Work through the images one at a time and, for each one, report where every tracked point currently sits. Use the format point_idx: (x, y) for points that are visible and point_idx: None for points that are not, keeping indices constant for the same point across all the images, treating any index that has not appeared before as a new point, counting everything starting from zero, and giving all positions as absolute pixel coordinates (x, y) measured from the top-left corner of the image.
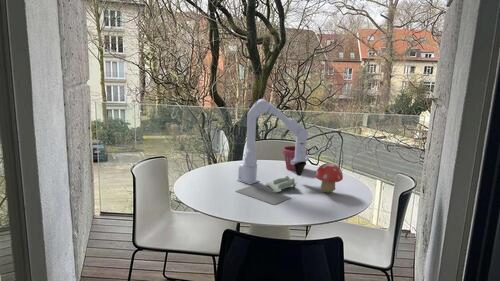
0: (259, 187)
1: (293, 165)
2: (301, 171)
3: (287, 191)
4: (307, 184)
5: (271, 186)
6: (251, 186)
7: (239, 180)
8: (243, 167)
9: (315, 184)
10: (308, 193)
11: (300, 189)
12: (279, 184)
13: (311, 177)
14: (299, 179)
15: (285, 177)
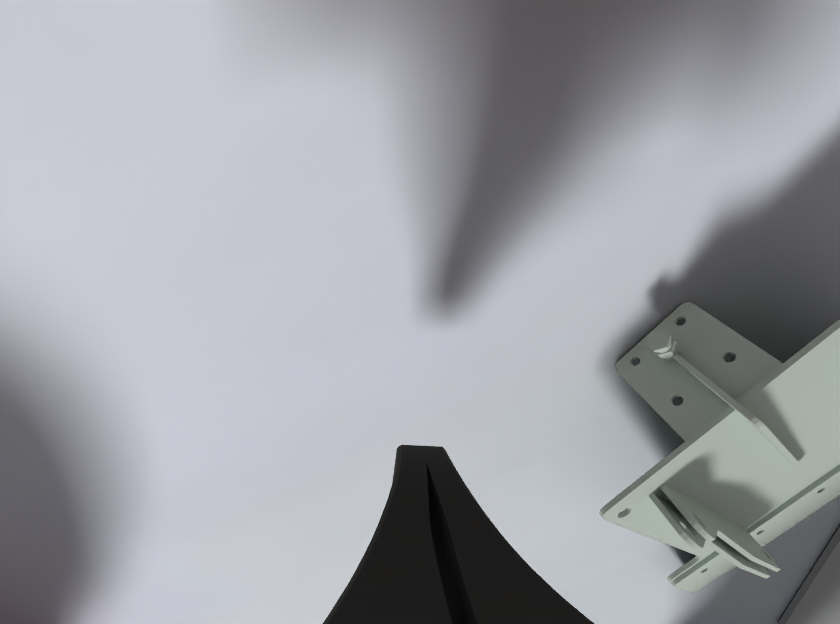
0: (825, 569)
1: None
2: (427, 502)
3: (819, 329)
4: (390, 268)
5: (806, 512)
6: (824, 618)
7: None
8: None
9: (293, 166)
10: (795, 49)
11: (668, 240)
12: None
13: (24, 380)
14: (268, 449)
15: (701, 538)
